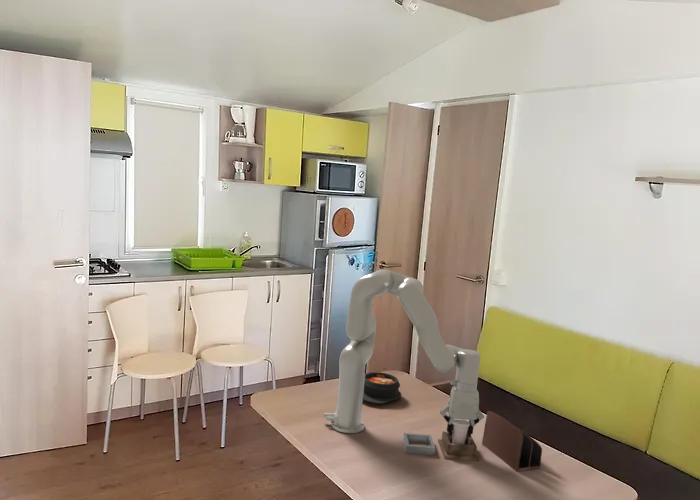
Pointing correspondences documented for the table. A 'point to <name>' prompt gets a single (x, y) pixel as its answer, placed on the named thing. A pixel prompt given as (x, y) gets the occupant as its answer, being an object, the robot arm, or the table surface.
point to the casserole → (381, 388)
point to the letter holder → (511, 444)
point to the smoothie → (459, 430)
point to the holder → (415, 448)
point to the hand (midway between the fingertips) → (459, 434)
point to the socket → (458, 448)
